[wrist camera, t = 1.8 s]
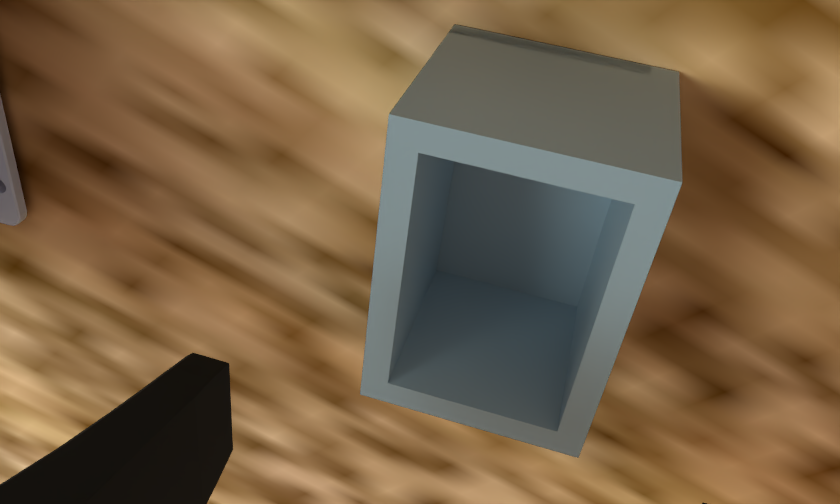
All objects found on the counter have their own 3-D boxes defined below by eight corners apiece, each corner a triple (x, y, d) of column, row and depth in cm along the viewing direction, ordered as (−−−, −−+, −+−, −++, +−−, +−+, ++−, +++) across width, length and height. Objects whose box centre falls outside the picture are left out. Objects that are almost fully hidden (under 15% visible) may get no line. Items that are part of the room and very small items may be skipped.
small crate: (596, 315, 20) (578, 458, 16) (418, 269, 21) (359, 394, 17) (679, 71, 16) (682, 182, 12) (454, 24, 17) (389, 114, 13)
